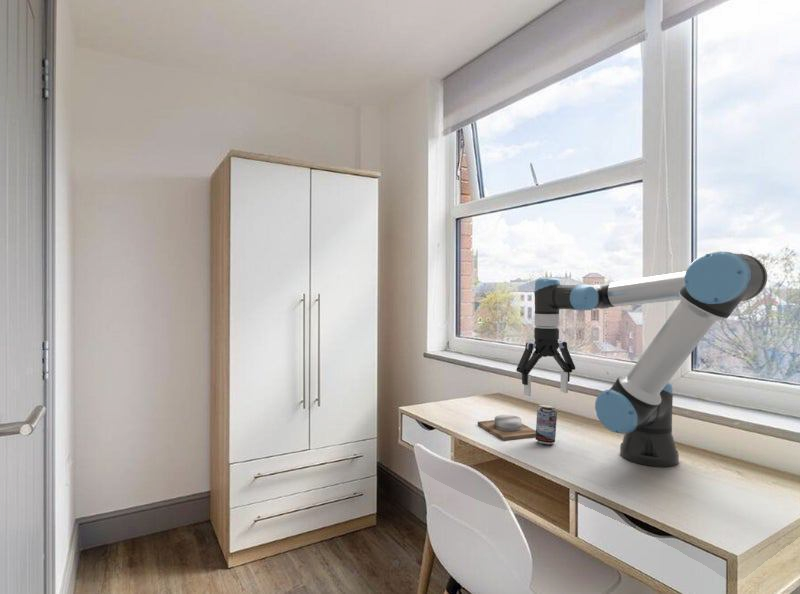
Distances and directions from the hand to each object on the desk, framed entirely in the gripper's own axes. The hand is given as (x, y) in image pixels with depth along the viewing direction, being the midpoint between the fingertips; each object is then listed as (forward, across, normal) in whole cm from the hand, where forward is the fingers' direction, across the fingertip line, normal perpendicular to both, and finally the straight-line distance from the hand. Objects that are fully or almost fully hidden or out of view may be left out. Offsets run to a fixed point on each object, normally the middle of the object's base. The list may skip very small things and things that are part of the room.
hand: (545, 393), depth 150 cm
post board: (+16, +5, -15) cm, 22 cm away
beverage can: (+16, 0, 0) cm, 16 cm away
